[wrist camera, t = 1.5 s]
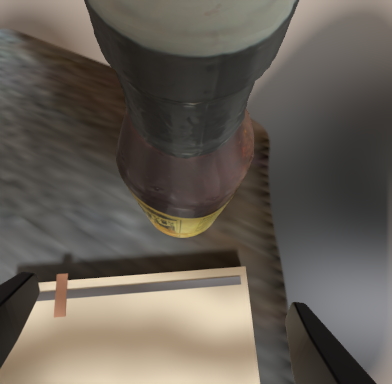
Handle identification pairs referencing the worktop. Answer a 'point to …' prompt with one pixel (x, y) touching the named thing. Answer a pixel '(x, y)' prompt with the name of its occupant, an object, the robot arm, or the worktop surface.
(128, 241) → the worktop surface
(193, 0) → the sauce bottle
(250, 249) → the worktop surface
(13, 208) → the worktop surface
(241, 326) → the birch board
